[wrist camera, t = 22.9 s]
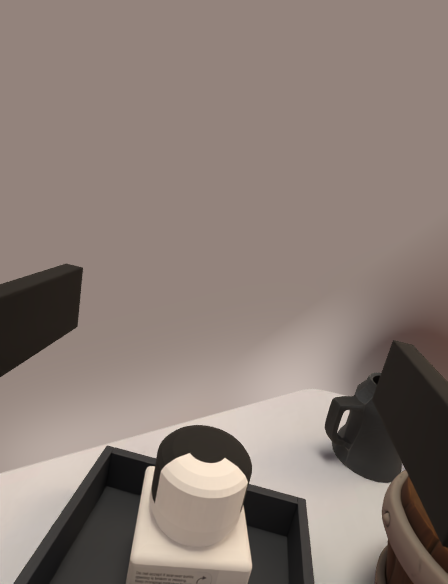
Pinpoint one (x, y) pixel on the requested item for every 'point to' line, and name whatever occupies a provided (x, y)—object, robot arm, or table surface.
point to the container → (193, 512)
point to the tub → (122, 521)
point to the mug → (363, 435)
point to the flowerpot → (409, 540)
